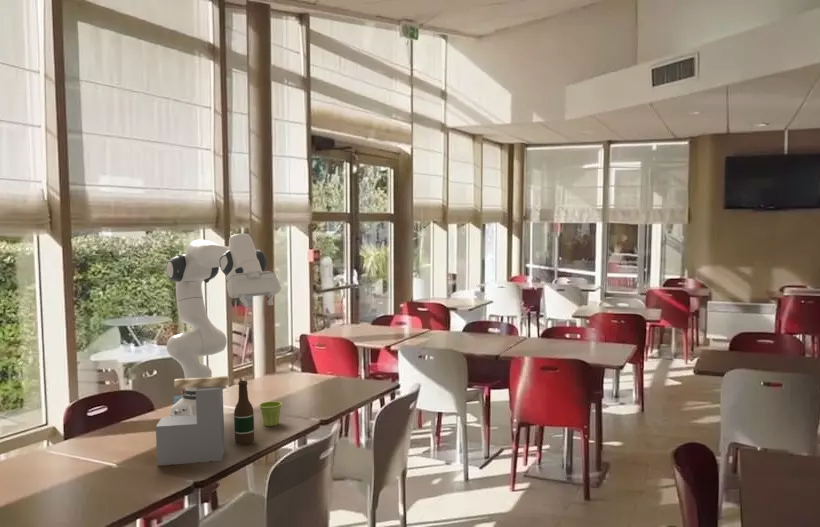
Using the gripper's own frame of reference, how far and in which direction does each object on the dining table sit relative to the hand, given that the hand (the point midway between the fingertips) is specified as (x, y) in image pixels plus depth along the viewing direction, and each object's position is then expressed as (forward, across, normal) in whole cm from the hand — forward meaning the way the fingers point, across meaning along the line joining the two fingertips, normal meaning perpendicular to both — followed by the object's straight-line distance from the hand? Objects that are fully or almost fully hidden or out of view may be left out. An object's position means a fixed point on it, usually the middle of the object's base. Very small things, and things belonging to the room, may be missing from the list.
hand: (259, 306), depth 255 cm
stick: (+20, +19, -22) cm, 35 cm away
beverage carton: (+5, -10, -105) cm, 106 cm away
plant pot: (+34, -19, -52) cm, 65 cm away
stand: (+42, +23, -37) cm, 60 cm away
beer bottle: (+41, 0, -39) cm, 57 cm away
